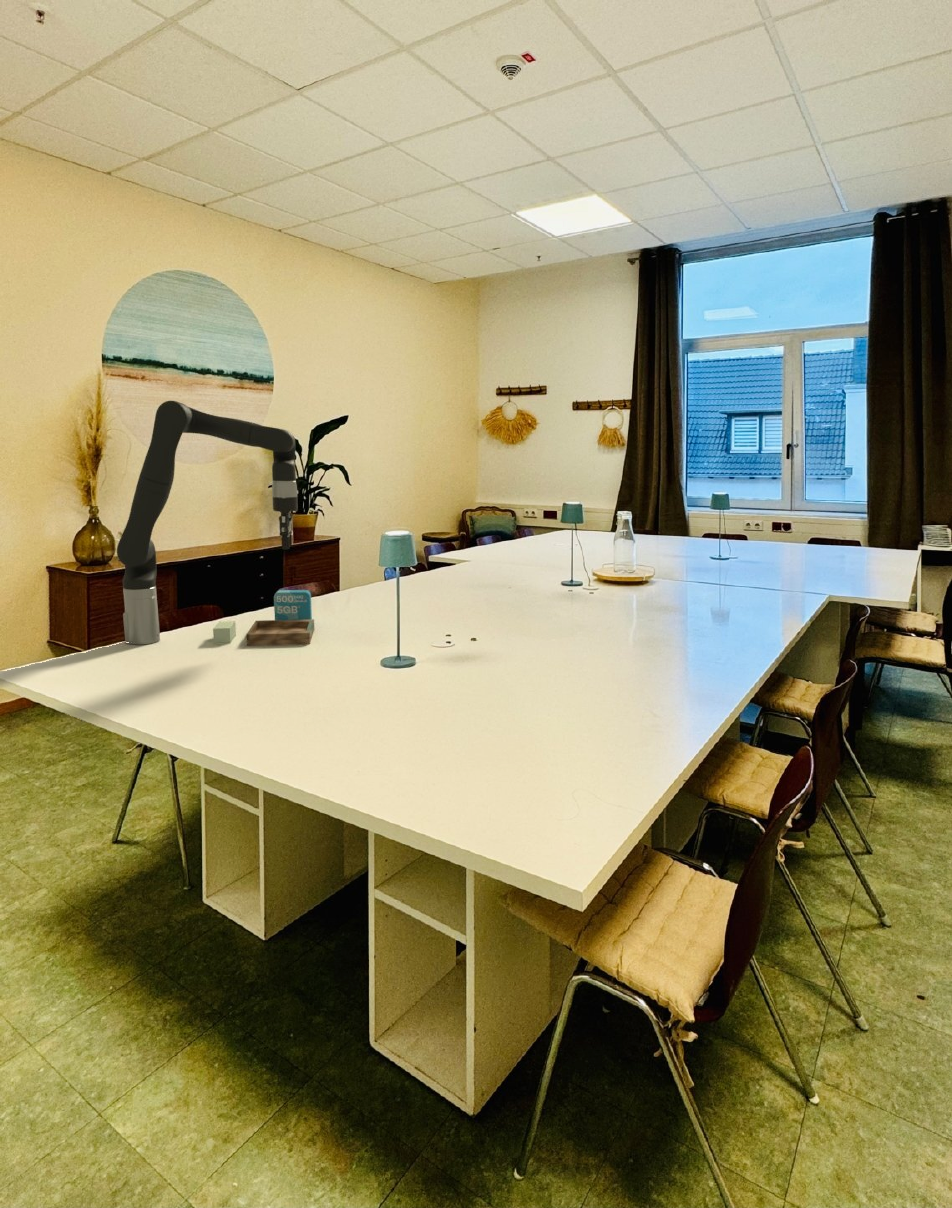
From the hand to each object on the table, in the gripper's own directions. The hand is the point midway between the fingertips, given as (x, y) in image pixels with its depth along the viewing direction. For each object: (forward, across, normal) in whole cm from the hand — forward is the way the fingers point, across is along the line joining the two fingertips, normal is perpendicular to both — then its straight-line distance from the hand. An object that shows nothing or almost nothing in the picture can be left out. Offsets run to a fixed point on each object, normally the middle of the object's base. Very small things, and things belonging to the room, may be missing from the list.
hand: (287, 547), depth 228 cm
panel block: (+29, 0, -20) cm, 36 cm away
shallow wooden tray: (+29, -1, -3) cm, 29 cm away
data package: (+29, -18, -1) cm, 34 cm away
